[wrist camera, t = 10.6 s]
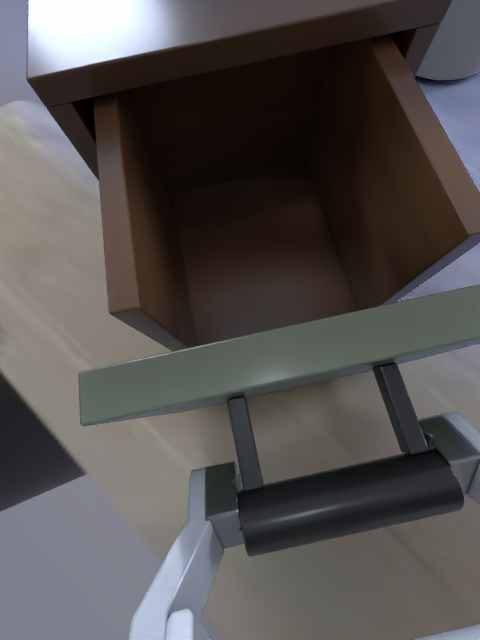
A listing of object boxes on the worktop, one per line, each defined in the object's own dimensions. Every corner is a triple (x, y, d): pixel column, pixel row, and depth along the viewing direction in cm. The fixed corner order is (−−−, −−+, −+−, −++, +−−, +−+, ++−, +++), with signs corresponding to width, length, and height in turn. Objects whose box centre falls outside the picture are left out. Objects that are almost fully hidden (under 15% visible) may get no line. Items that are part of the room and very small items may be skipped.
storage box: (345, 220, 18) (460, -14, 8) (156, 261, 18) (25, 79, 8) (287, 69, 22) (314, -212, 12) (134, 102, 22) (31, -152, 12)
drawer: (430, 453, 13) (741, 546, 5) (196, 505, 13) (88, 694, 5) (321, 164, 18) (377, -39, 10) (153, 200, 18) (63, 27, 10)
